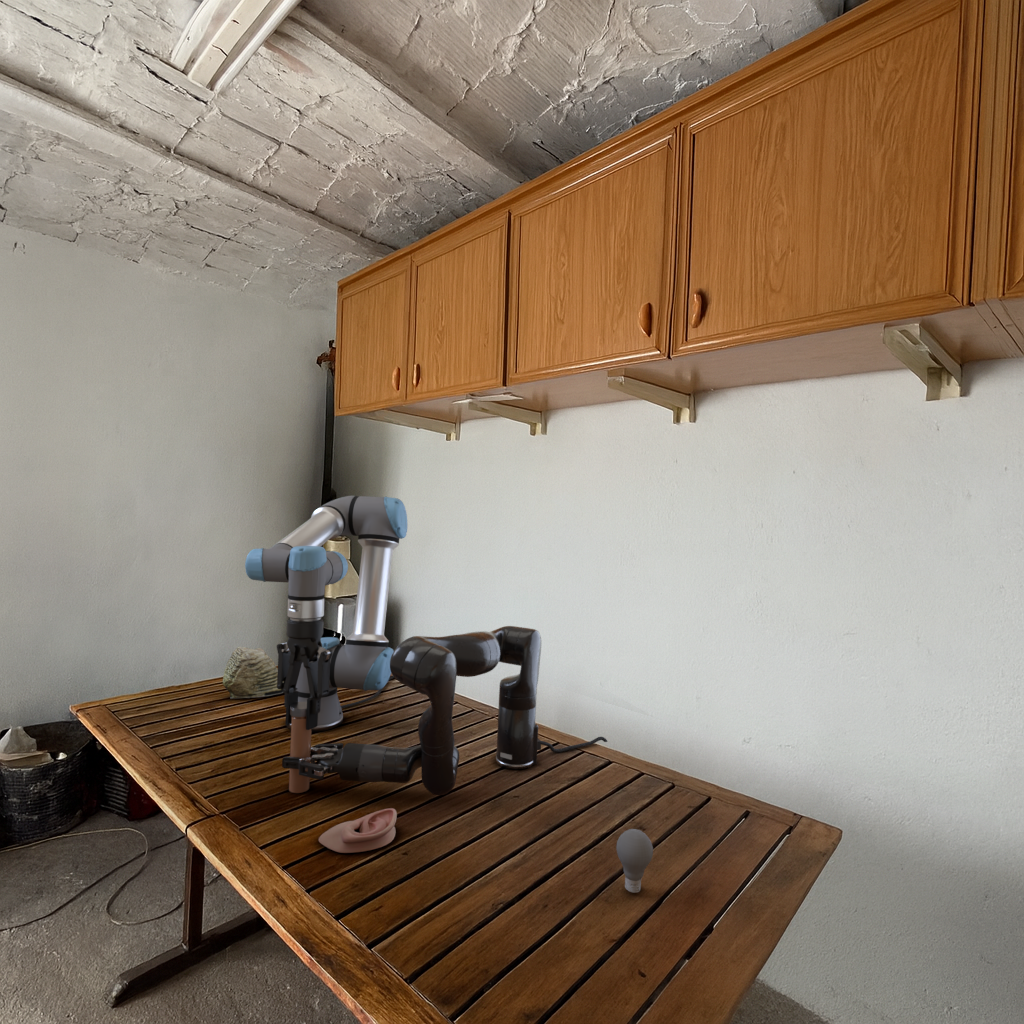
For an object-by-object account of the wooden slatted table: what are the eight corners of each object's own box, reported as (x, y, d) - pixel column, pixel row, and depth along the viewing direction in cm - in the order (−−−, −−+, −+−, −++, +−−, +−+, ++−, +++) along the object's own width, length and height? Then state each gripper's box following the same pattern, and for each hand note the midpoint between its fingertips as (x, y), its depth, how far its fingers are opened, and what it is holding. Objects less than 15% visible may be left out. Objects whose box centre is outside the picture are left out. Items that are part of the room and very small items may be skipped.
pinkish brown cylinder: (299, 782, 140) (302, 704, 140) (313, 787, 138) (316, 708, 138) (284, 789, 136) (287, 709, 136) (298, 794, 134) (301, 713, 134)
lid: (315, 715, 135) (315, 707, 135) (290, 718, 133) (291, 710, 133) (312, 708, 140) (312, 700, 140) (288, 710, 138) (289, 702, 138)
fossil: (218, 695, 195) (220, 647, 195) (278, 685, 208) (279, 640, 207) (228, 703, 189) (230, 653, 188) (289, 692, 201) (290, 645, 201)
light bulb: (610, 879, 108) (613, 822, 108) (644, 879, 109) (647, 822, 109) (619, 902, 102) (622, 840, 102) (655, 901, 103) (658, 840, 103)
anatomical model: (310, 826, 114) (340, 797, 125) (309, 848, 114) (339, 817, 125) (379, 837, 111) (403, 806, 122) (378, 859, 111) (403, 827, 123)
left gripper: (260, 615, 137) (256, 722, 137) (326, 626, 129) (322, 739, 130) (286, 610, 143) (282, 712, 144) (350, 620, 136) (346, 727, 136)
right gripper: (375, 733, 143) (300, 728, 144) (356, 758, 129) (273, 753, 130) (373, 766, 143) (299, 761, 144) (354, 795, 129) (272, 789, 130)
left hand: (301, 725), depth 137 cm, fingers closed on lid, 5 cm apart
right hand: (287, 757), depth 137 cm, fingers closed on pinkish brown cylinder, 4 cm apart
